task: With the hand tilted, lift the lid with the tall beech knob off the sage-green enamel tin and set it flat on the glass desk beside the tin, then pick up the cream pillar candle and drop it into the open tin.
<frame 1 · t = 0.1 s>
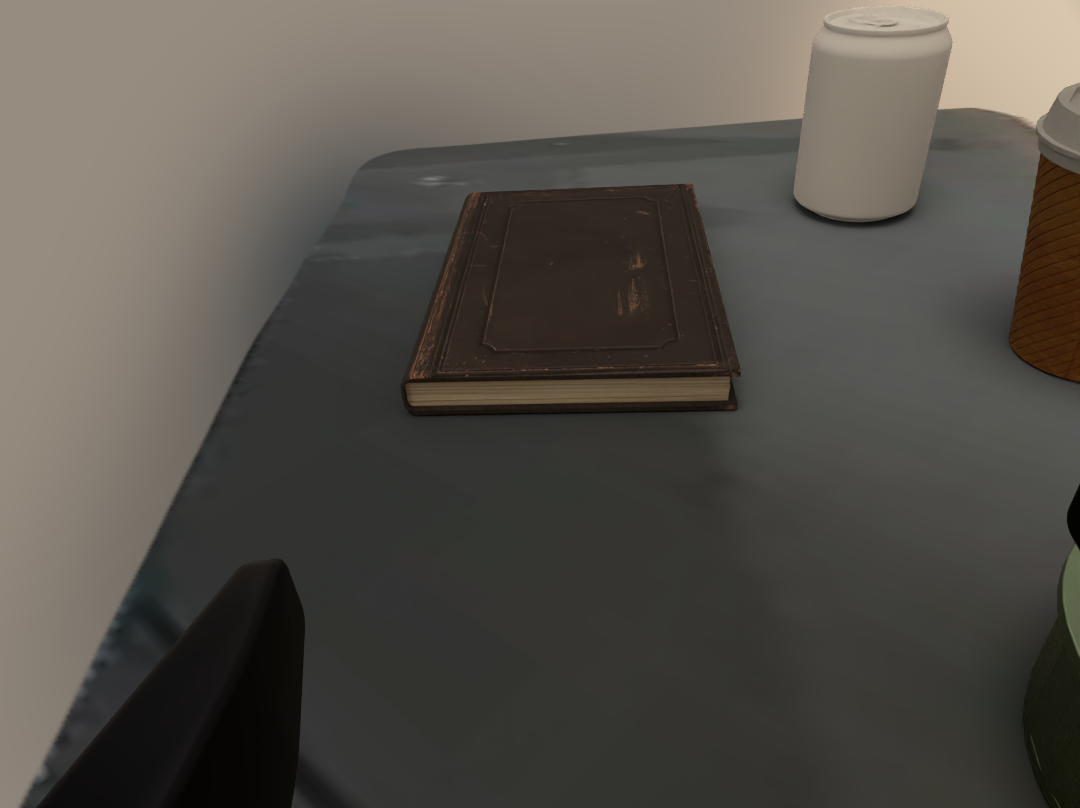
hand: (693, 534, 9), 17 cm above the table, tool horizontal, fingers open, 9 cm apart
hardcover book: (573, 300, 48), on the table
beverage can: (851, 206, 56), on the table
disposable coffee cup: (1077, 353, 40), on the table
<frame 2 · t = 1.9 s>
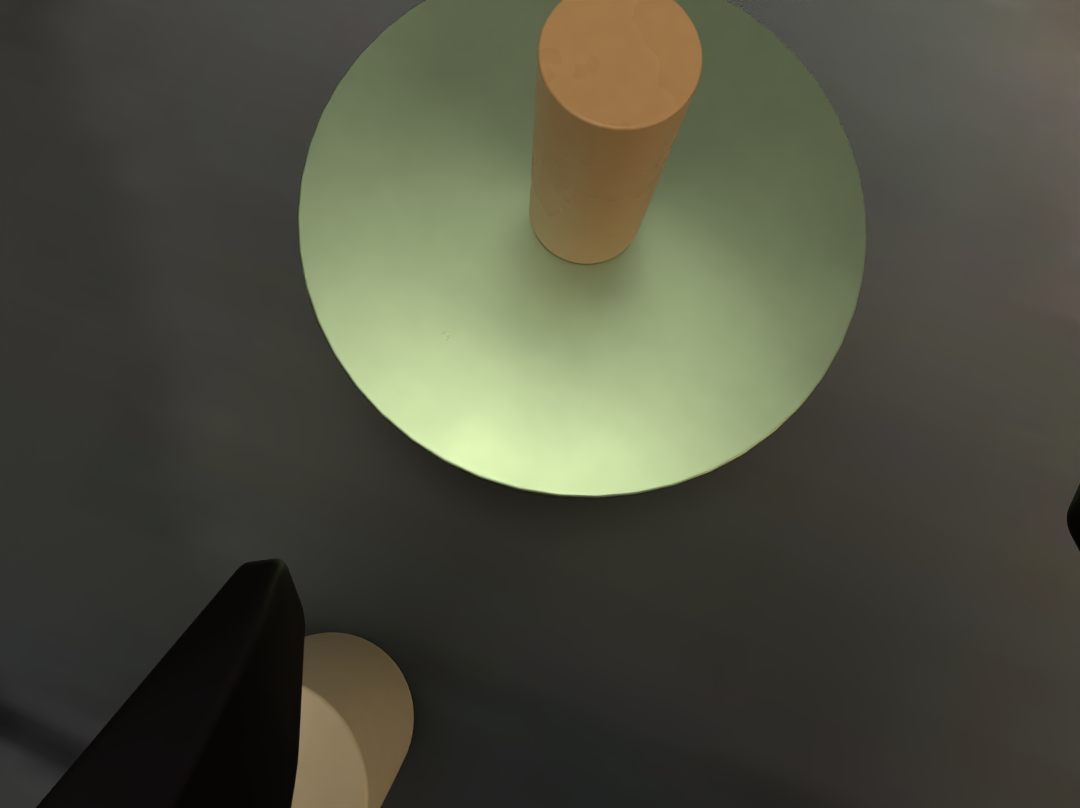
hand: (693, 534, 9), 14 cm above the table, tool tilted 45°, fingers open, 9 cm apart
candle: (328, 720, 21), on the table
lid: (583, 219, 19), point 5 cm above the table, touching tin
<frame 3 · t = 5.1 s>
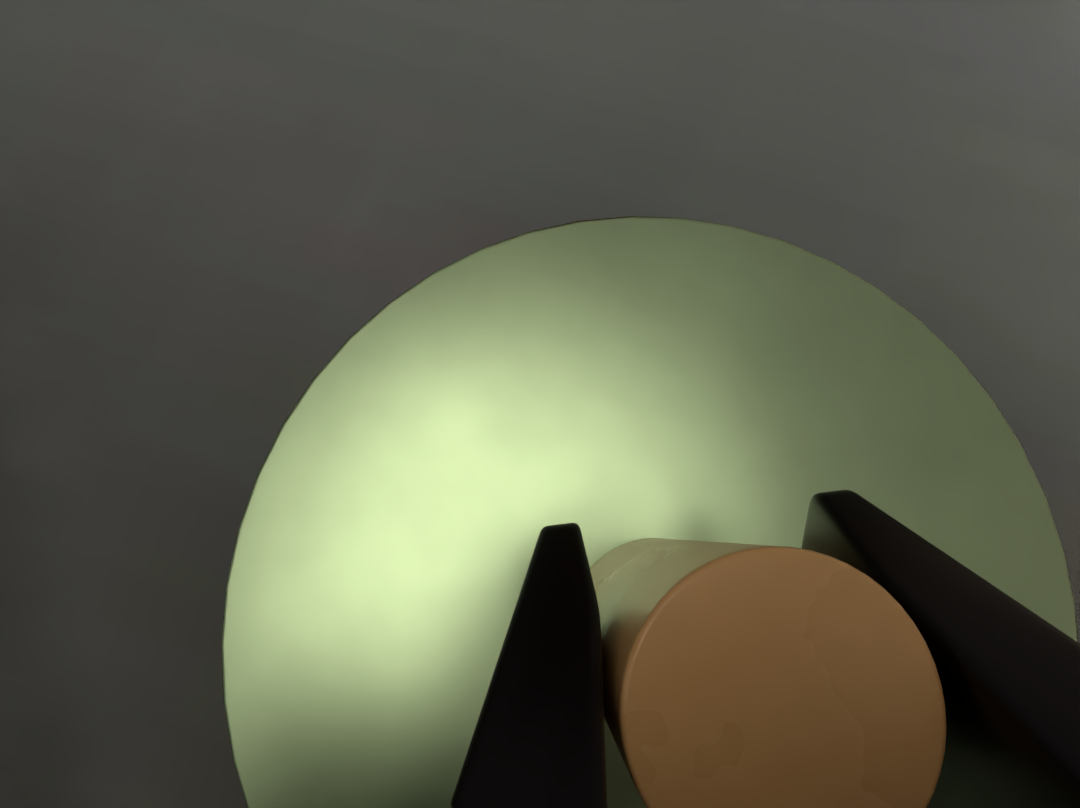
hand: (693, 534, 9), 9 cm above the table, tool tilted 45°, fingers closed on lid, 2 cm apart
lid: (650, 620, 13), point 5 cm above the table, touching gripper
when the fingers open (5 cm above the table, at t = 11.2 s): lid stays where it is, point 1 cm above the table.
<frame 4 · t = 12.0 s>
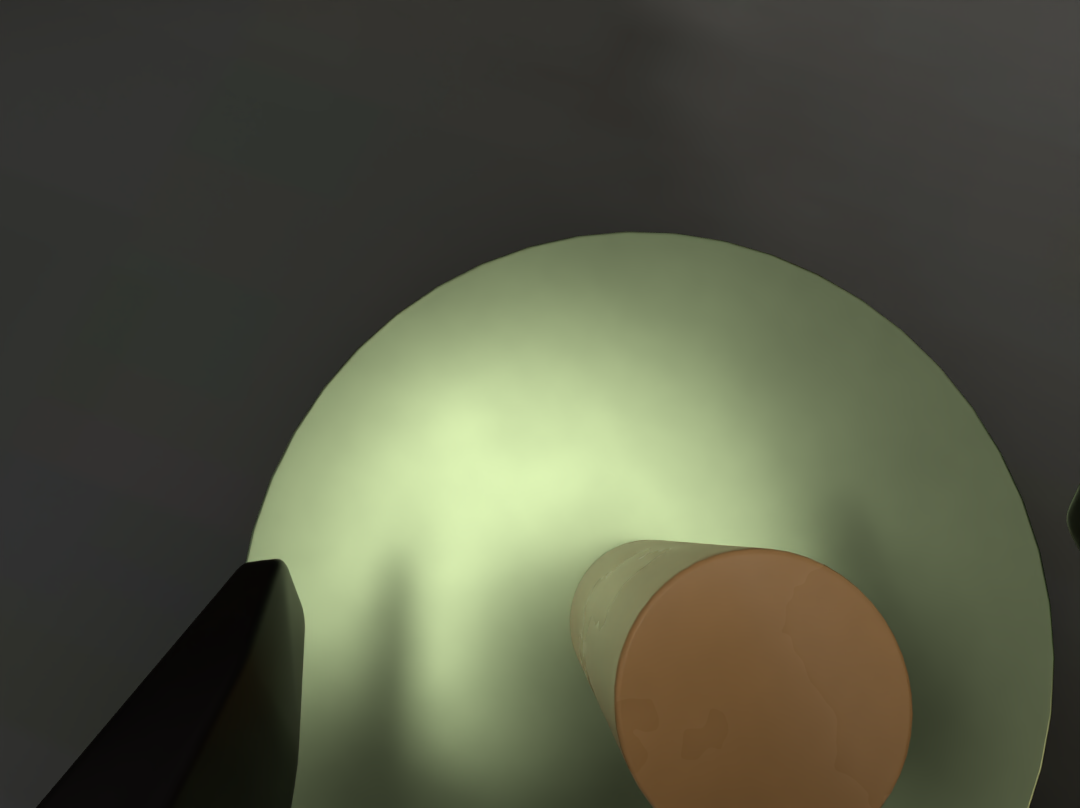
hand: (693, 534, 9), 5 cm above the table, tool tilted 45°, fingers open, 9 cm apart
lid: (645, 618, 13), point 1 cm above the table
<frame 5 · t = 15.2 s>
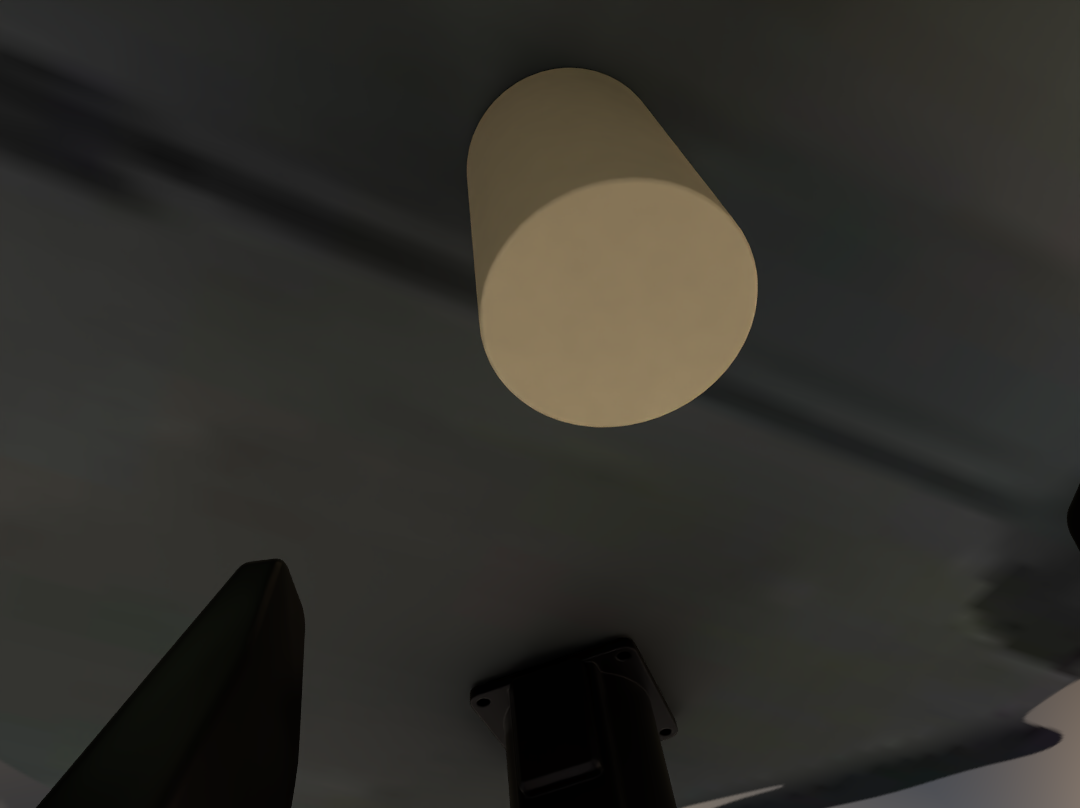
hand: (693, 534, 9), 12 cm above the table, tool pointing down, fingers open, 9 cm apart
candle: (564, 170, 19), on the table
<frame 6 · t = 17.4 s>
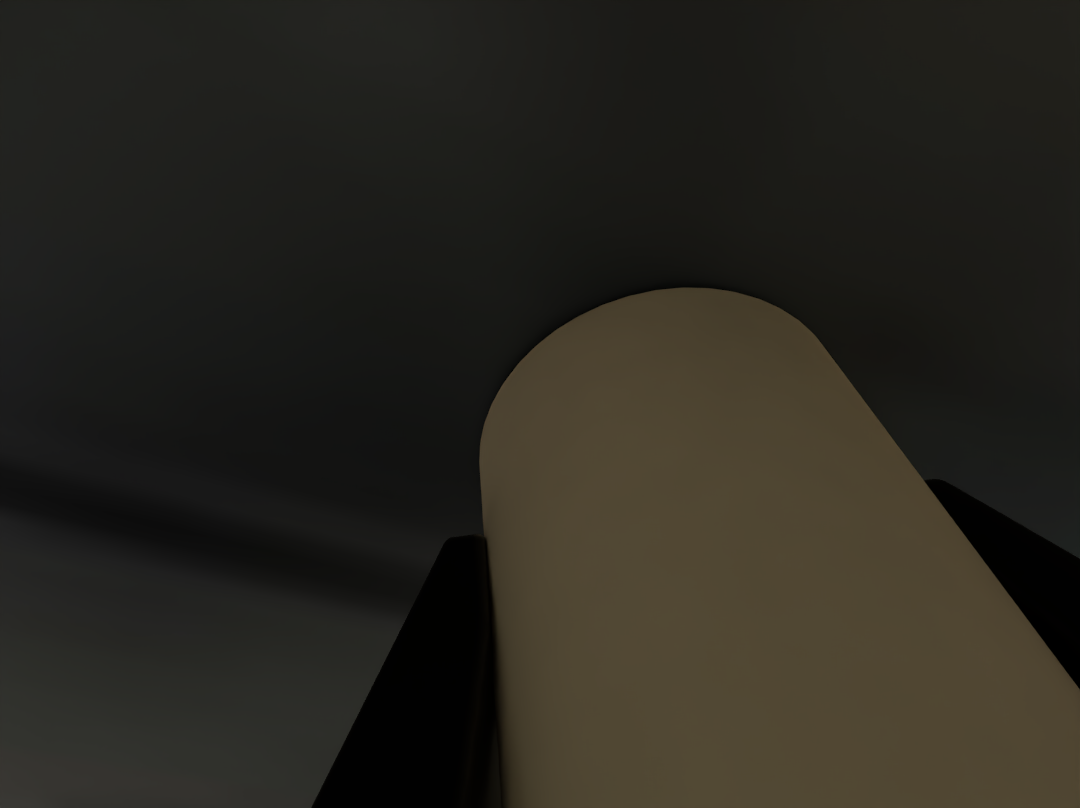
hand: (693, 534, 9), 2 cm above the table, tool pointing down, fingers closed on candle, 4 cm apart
candle: (660, 447, 10), on the table, touching gripper
when the fingers open (6 cm above the table, at t = 22.0 s): candle drops 4 cm, point 1 cm above the table.
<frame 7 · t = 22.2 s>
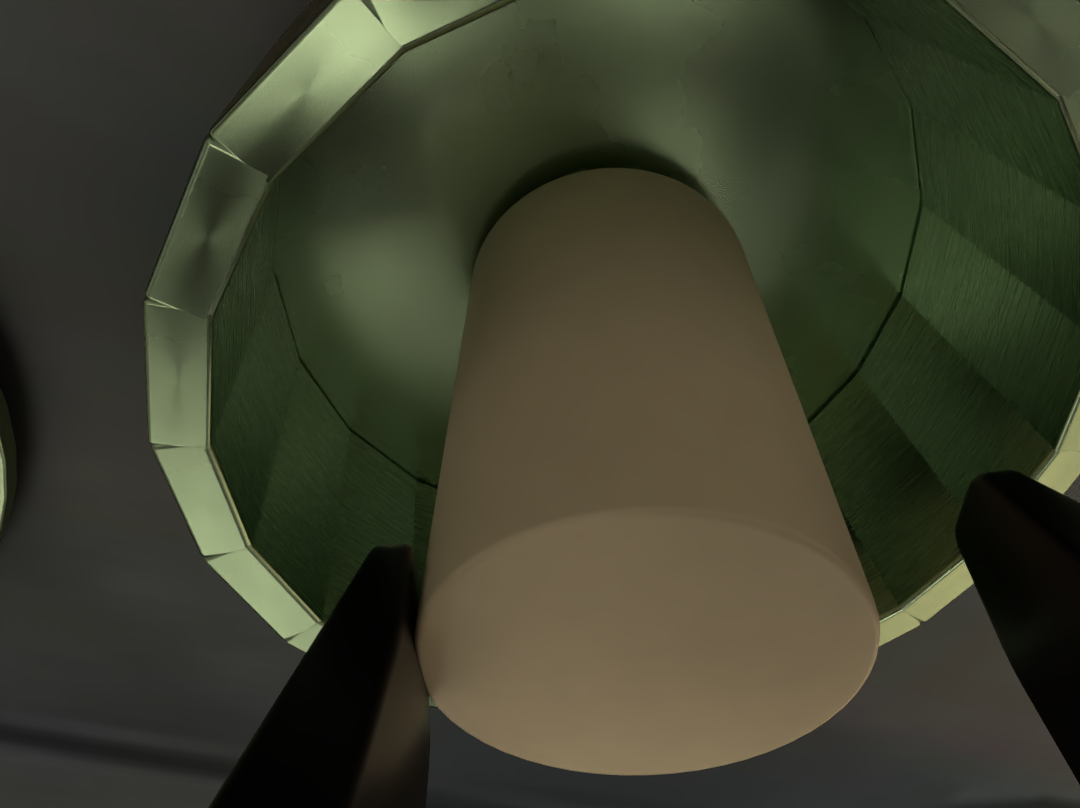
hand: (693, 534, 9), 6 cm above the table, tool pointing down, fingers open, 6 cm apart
candle: (608, 297, 13), point 1 cm above the table, tilted 8°, touching gripper
tin: (600, 270, 14), on the table
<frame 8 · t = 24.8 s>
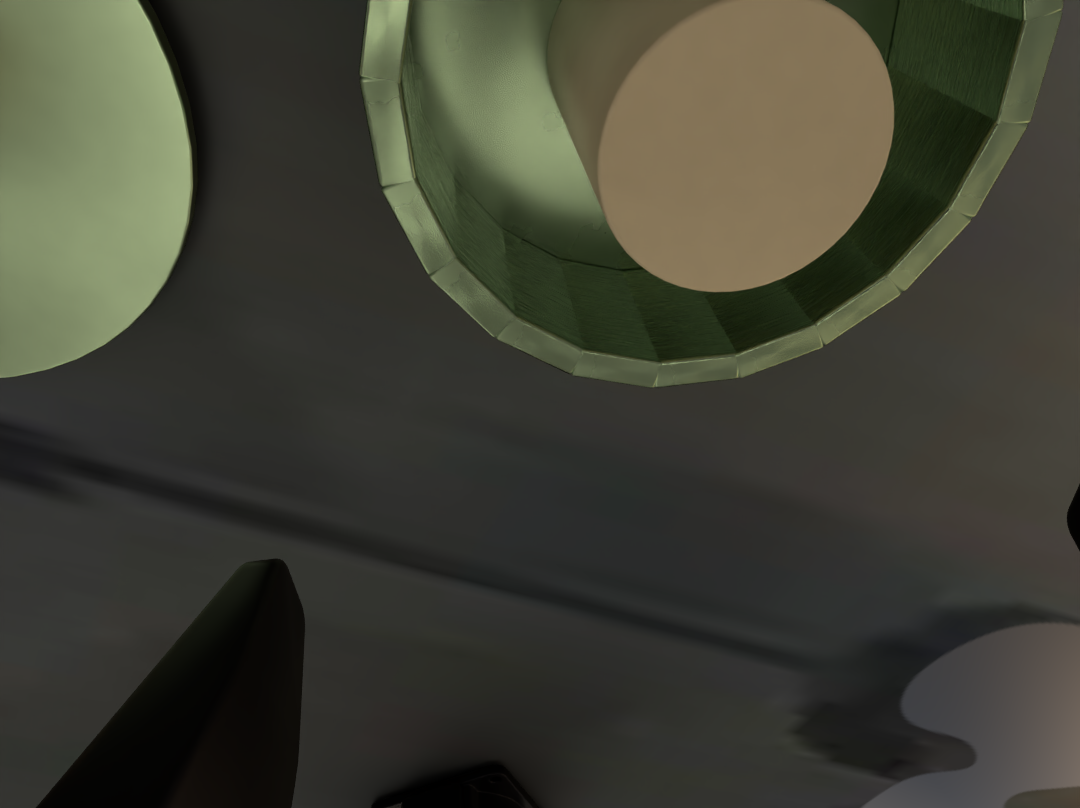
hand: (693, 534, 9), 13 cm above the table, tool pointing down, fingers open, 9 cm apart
candle: (648, 55, 18), resting on tin
tin: (653, 41, 18), on the table
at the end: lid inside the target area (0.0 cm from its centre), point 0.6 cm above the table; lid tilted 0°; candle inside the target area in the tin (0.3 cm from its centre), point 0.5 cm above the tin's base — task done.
